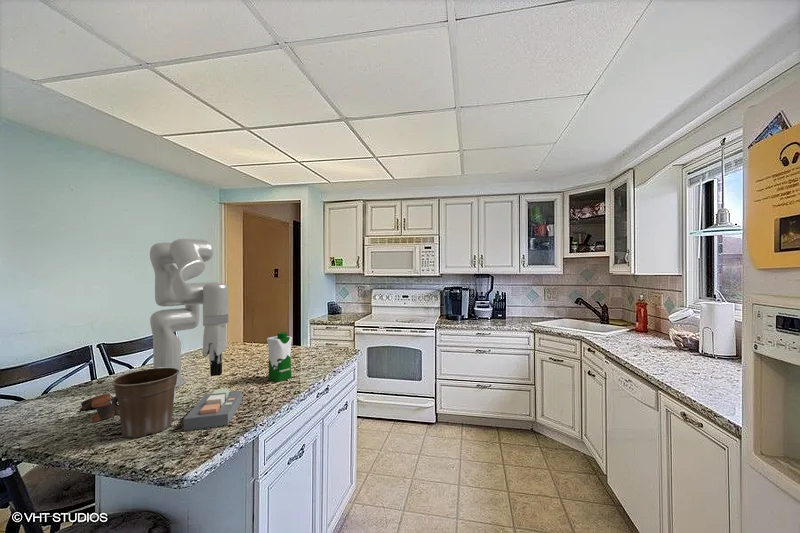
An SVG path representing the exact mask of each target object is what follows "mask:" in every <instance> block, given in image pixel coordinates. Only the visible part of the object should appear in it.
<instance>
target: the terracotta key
mask: <svg viewBox="0 0 800 533" xmlns="http://www.w3.org/2000/svg"><path fill="white" fill-rule="evenodd" d="M219 410H220V404H210V405H204V407H203V408H202V409H201V410H200V415H203V414H212V413H218V411H219Z"/></svg>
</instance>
